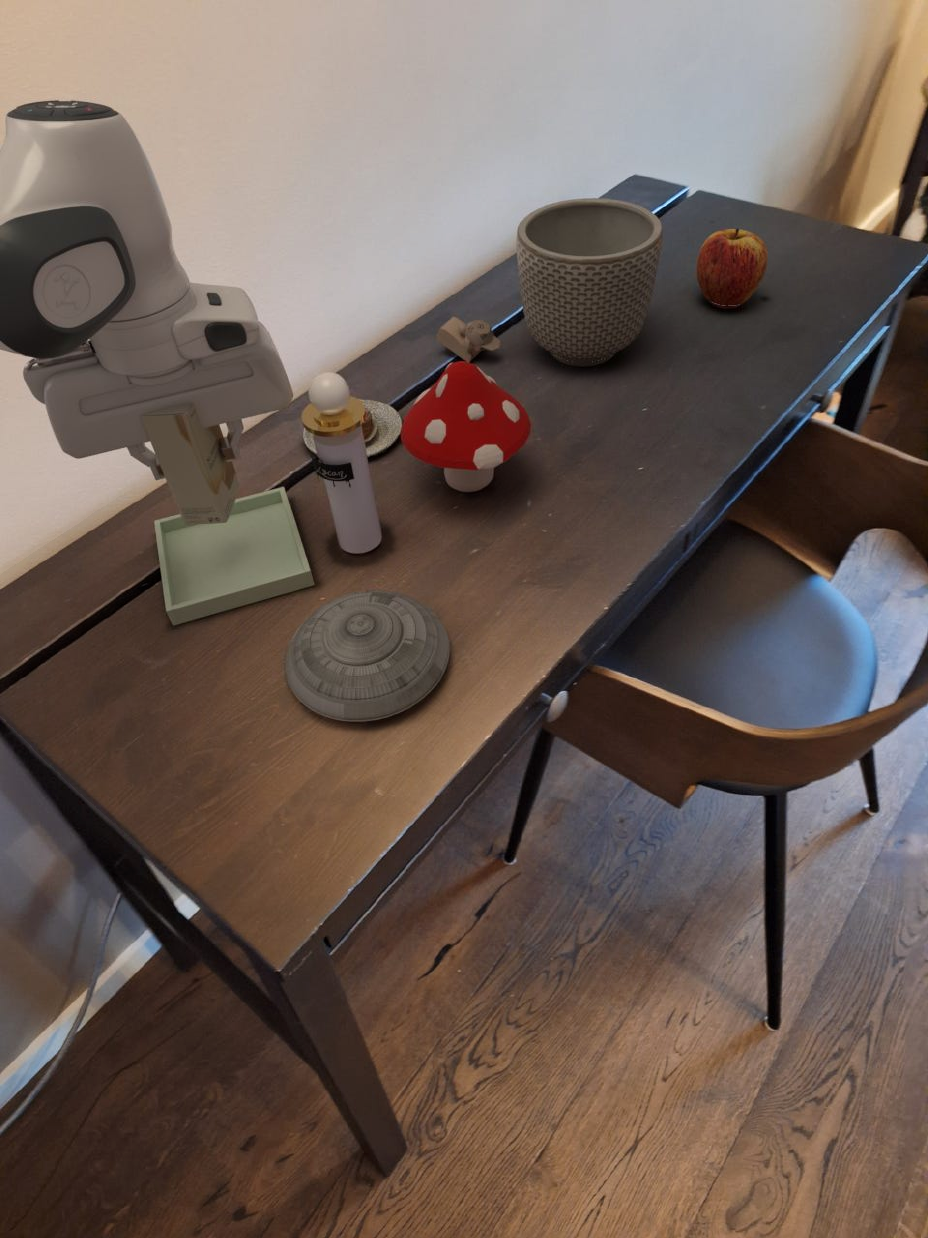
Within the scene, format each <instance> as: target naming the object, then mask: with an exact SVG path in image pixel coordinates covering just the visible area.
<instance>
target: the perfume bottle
mask: <svg viewBox="0 0 928 1238" xmlns="http://www.w3.org/2000/svg"><path fill="white" fill-rule="evenodd" d="M308 399H309V402H310V403H309V404H307V406H305V407H304V409H303V411H302V413H301V421H302V425H303V429H304V428H305V429H306V430H307V431H308V432H310V433H312V434H313V438H314V442H315V447H316V451H317V455H318V456H317V455H316V453H315V454H314V453H312V451H311V449H309V451H310V457H311V460H312V461H311V462H312V465H313V468H314V472H315V474H316V476H317V480H318V481H317V482H320V480H319V477H320V478H321V479H323V483H324V488H325V491H326V496H327V501H328V504H329V508H330V513H331V516H332V521H333V525H334V529H335V533H336V537H337V542H338V545H339V547H340V548H341V549H342V550H343V551H345V552H347V553H350V554H365V553H368V552H371V551H372V550H374V549H375V548H377V547H378V546H379V544H380V543H381V541H382V537H383V535H382V528H381V524H380V519H379V512H378V508H377V501H376V497H375V491H374V486H373V480H372V475H371V469H370V465H369V460H368V459H369V457H367V453H366V448H365V442H364V437H363V432H362V427H361V425H362V424H363V422H364V420H365V418H366V411H365V406H364V404H363V403H362V402H361V401H360V400H359V399H360V398H357V397H355V396H352V395H351V391H350V387H349V384H348V383H347V381H346V380H345V378H344V377H343V376H341V374H338V373H336V372H333V371H323V372H321V373H318V374H316V375H315V376H314V377H313V378H312V380H311V381H310V383H309V385H308ZM315 456H316V457H317V458H318V460H317V459H316V457H315Z"/></svg>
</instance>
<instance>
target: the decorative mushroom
mask: <svg viewBox="0 0 928 1238" xmlns="http://www.w3.org/2000/svg"><path fill="white" fill-rule="evenodd" d="M445 367H446V368H445V369H444V371H443V372H442V373H441V375H440V377H439V378H438V379H437V380H436V382H435V383H434V384H433V386H431V387H430V388H427V389H425V390H424V391H423V392H421V394H420V395H418V397H417V398H416V399H415V401H414V403H413V404H412V407H411V408H410V409H409V410H408V412H407V413H406V415H405V416H404V419H403V421H402V428H401V433H400V439H401V440H400V441H401V442H402V444H403V446H404V448H405V450H406V451H407V452H408V453H410V455H412V456H413V457H414V458H416V459H418V460H419V461H421V462H423V463H425V464H427V465H431V466H434V467H438V468H440V469H441V468H443V474H444V478H445V482H446V483H447V485H448V486H450V488H453V489H454V490H456V491H458V492H463V493H473V492H474V493H475V492H477V491H480V490H482V489H484V488H485V487H487V486H488V485H490V483H491V482H492V480H493V479H494V470H495V468H496V467H498V466H499V465H501V464H503V463H506V462H507V461H509V459H511V457H513V456H514V455H515V454H516V453H518V451H519V450H520V449H521V448H522V447H524V446H525V444H526V442H527V441H528V439H529V437H530V435H531V431H532V423H531V419H530V417H529V414H528V412H527V411H526V409H525V407H524V406H523V405H522V403H520V401H518V400H517V399H516V398H515V397H514V396H513V395H511V394H510V393H508V392H507V391H506V390H504V389H503V388H502V387H500V386H499V385H498V384H497V382H496V381H495V380H494V378H493V377H491V376H489V375H487V374H486V373H485V372H484V371H483V370H482V368H480V367H479V366H477V365H476V364H474V363H471V362H467V361H465V360H459V361H456V362H455V361H454V362H450V363H449V364H448V365H447V366H445Z"/></svg>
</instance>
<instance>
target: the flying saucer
mask: <svg viewBox="0 0 928 1238" xmlns="http://www.w3.org/2000/svg"><path fill="white" fill-rule="evenodd" d="M450 645H451V644H450V639H449V634H448V631H447V629H446V627H445V625H444V623H443V622H442V620H441V619H440V617H439V616H438V615H437V614H436V613H435V612H434V611H433V610H432V609H431V608H429V607H428V606H427V605H426V604H424V603H423V602H421V601H419V600H418V599H415V598H414V597H411V596H409V595H406V594H404V593H400V592H397V591H391V590H380V589H372V590H370V589H368V590H360V591H355V592H350V593H347V594H344V595H340V596H338V597H336V598H334V599H331V600H329V601H328V602H326V603H324V604H322V605H320V607H318V608H316V610H314V611H313V612H312V613H310V614H309V615H308V616H307V617H306V618H305V619H304V620H303V621H302V622H301V624H299V626H298V628H297V629H296V630H295V631H294V634H293V635H292V637H291V639H290V641H289V643H288V646H287V649H286V652H285V658H284V674H285V678H286V681H287V684H288V687H289V689H290V691H291V692H292V694H293V695H294V697H296V699H297V700H298V701H299V702H300V703H301V704H302V705H304V706H305V707H306V708H308V709H309V710H311V711H313V712H314V713H316V714H318V715H321V716H323V717H326V718H329V719H332V720H337V721H343V722H356V723H359V722H360V723H361V722H368V721H369V722H371V721H377V720H382V719H385V718H389V717H392V716H395V715H398V714H400V713H402V712H404V711H406V710H408V709H410V708H412V707H413V706H415V705H416V704H418V703H420V702H421V701H422V700H423V699H425V698H426V697H427V696H428V695H429V694H430V693H431V692H432V691H433V690H434V689H435V687H436V686H438V684H439V682H440V680H441V679H442V678H443V676H444V673H445V672H446V669H447V667H448V663H449V659H450V654H451V653H450V652H451V648H450V647H451V646H450Z"/></svg>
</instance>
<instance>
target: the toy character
mask: <svg viewBox="0 0 928 1238" xmlns="http://www.w3.org/2000/svg"><path fill="white" fill-rule="evenodd" d="M466 323H467V324H466ZM466 323H465V322H463V321H462V320H461V319H460V318H458V317H455V316H452V317H451V318H450V319H449V320H448V321H446V322H445V323H444V324H443V325H442V326H441V327H439V329H438V331H437V335H436V338H435V340H436V341H437V342H438V343H440V344H441V345H443V346H444V347H445V348H447V349H448V350H450V351H451V352H452V353H454V354H455V355H457V356H458V357H460V358H461V359H462V360H463V361H466V362H469V363H471V361H472V360H473V359H474V358H475V357H476V356H477V355H479V354H480V353H481V352H482V351H485V350H487V351H489V352H494V351H497V350H499V349H500V346H501V343H502V342H501V341H500V340H499V339H498V338H497V337H496V336H495V334H494V332H493V330H492V329H493V328H492V327H491V326H490V325H489V324H488V323H487V322H486V321H484V320H481V319H479V318H478V319H474V320H471V321H469V322H466Z"/></svg>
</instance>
